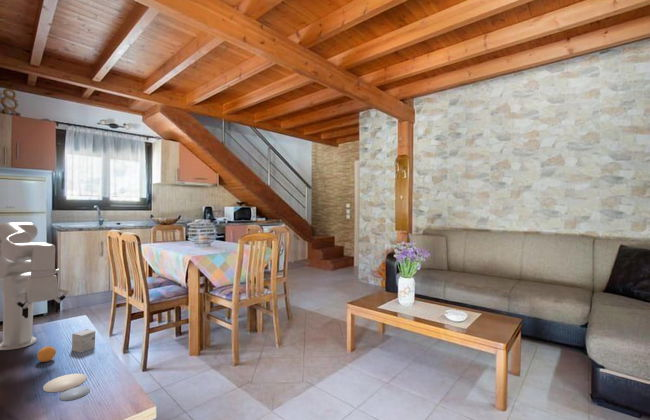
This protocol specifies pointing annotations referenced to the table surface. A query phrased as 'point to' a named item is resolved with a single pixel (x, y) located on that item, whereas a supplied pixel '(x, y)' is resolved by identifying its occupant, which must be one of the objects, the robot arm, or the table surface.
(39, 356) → the ball
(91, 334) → the skincare box
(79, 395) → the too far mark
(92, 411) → the table surface
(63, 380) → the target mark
